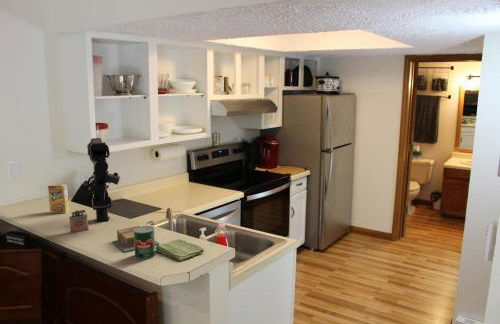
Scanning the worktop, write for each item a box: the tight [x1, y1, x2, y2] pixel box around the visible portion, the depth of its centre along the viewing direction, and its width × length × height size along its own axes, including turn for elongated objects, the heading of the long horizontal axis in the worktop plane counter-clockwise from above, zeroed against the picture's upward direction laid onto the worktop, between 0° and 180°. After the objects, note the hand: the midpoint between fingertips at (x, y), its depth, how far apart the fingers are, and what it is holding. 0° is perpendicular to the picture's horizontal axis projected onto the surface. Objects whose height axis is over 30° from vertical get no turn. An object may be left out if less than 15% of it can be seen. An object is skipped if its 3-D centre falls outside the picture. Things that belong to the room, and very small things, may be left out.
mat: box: [112, 239, 160, 254], centre depth 184 cm, size 15×15×1 cm
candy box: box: [47, 183, 70, 214], centre depth 233 cm, size 9×4×15 cm, turn 87°
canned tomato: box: [134, 225, 156, 261], centre depth 170 cm, size 8×8×11 cm
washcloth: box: [155, 238, 205, 262], centre depth 174 cm, size 13×18×3 cm
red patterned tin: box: [68, 209, 89, 234], centre depth 201 cm, size 8×3×10 cm, turn 123°
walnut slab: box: [116, 225, 141, 248], centre depth 186 cm, size 4×10×13 cm
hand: (102, 201), depth 204 cm, fingers closed
